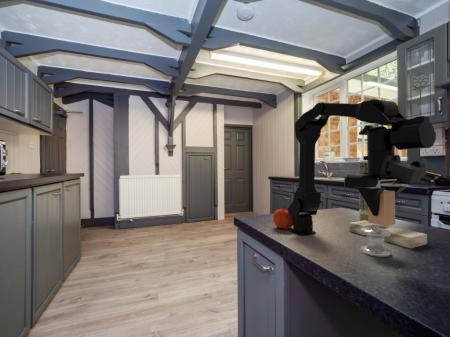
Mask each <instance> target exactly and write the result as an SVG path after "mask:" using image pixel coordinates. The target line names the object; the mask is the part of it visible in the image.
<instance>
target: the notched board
mask: <svg viewBox="0 0 450 337" xmlns="http://www.w3.org/2000/svg"><path fill="white" fill-rule="evenodd" d="M348 224H349V226H348V227H349V232H351V233H355V234H358V235H362V236H364V235H365V234H362V233H361V228H364V227H374V228H381V229H386V230H389V231H390V232H391V236H390V237H384V242H387V243H390V244H394V245H397V246H401V247H405V248H408V249H413V248H417V247H421V246H425V245H428V234H427V233H424V232H418V231H415V230H414V231H413V230H409V229H406V228H405V229H404V228H402V227H401V228H400V227H396V226H393V225H386V226H383V225H378V224H373V223H369V222H368V221H360V220H359V221H354V222H353V221H352V222H349V223H348ZM365 236H366V235H365Z"/></svg>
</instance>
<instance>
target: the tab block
mask: <svg viewBox="0 0 450 337" xmlns="http://www.w3.org/2000/svg"><path fill="white" fill-rule="evenodd" d="M368 222H369V223H373V224H378V225H383V226H386V225H387V226H393V225H396V200H395V191H389V190H384V191H383V192H382V193H381V194H380V204H379V213H378V216H373V214H372V213H371V211H370V209H369V207H368Z"/></svg>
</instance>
